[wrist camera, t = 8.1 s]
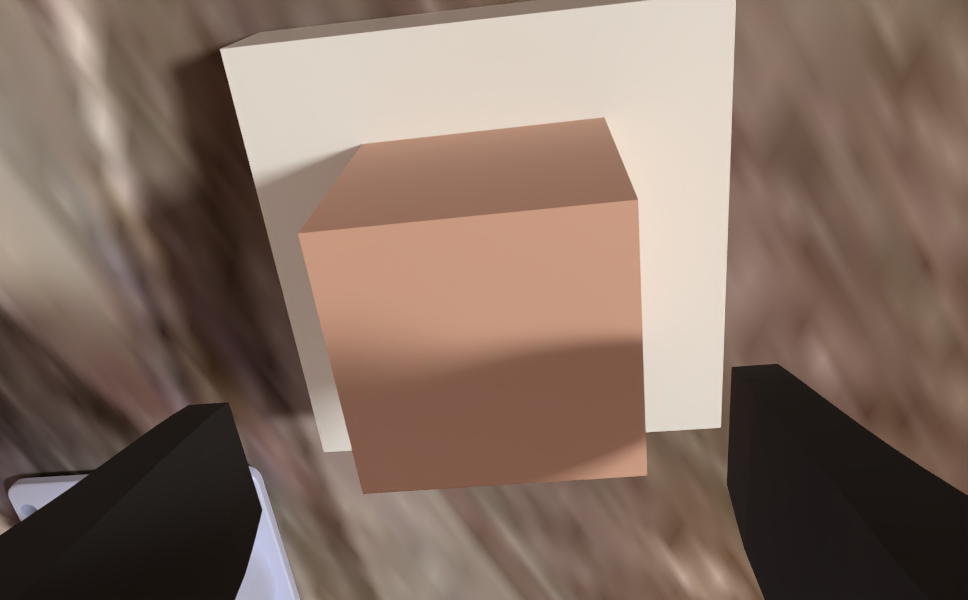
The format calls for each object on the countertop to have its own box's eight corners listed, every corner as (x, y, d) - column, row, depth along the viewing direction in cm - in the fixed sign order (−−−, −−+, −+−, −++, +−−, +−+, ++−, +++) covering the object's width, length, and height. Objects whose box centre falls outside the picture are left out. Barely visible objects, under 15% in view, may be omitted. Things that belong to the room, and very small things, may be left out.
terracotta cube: (615, 332, 17) (647, 475, 13) (403, 350, 18) (363, 493, 13) (604, 117, 15) (638, 199, 11) (362, 143, 16) (297, 233, 11)
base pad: (699, 372, 21) (720, 427, 18) (344, 397, 22) (323, 451, 19) (706, -20, 16) (736, -10, 14) (259, 32, 17) (220, 48, 15)
